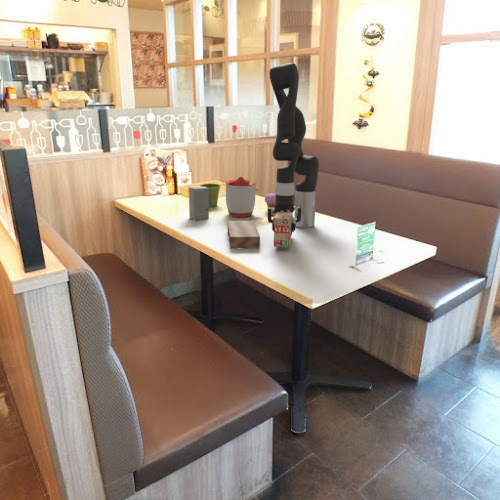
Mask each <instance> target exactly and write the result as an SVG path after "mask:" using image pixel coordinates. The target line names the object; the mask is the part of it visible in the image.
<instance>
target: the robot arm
mask: <svg viewBox="0 0 500 500" xmlns="http://www.w3.org/2000/svg"><path fill="white" fill-rule="evenodd" d="M298 69H299V68H298V67H297V65H296V64H295V63H294V62H290V63H289V62H288V63H283V64H279V65H276V66H272V67H271V68H270V69H269V72H268V73H269V80H270V84H271V87H272V90H273V93H274V95H275V99H276V102H277V105H278V108H279V111H278V112H277V113H278V114H277V119H276V138H275V143H274V145H273V149H272V156H273V159H274V160H275V161H277V162H279V161H281V162H288V164H286V165H282V166H280V167H279V166H278V167H277V169H276V182H275V183H276V184H275V194H276V198H275V207H274V208H270V207H268V206H267V221H268V223H269V224H272V225H271V230H272V231H273V232H274V217H275V215H274V217H273V218H272V214H273V213H275V214H276V213H277V212H280V213H283V212H292V213H293V216H292V214H291V220H292V226H291V231H292V233H295V231H296V230H297V229H296V228H301V229H308V228H314V227H315V220H316V206H315V202H316V190H317V189H316V187H317V184H318V178H319V170H320V164H319V163H320V162H319V159H318V157H316V156H314V155H306V154H304V152H303V148H302V143H303V141H304V138H305V136H306V132H307V126H306V121H305V117H304V114H303V112H302V110H301V109H300V108H299V107H298V106H297V100H298V92H299V81H300V78H299V77H300V74H299V70H298ZM285 89H286V90H287V89H288V92H287V94H286V92H285ZM285 140H287V142H283V141H285ZM295 175H300V176H305V178H304V180H303V181H301V182H297V183H296V184H295ZM274 210H275V212H273V211H274Z"/></svg>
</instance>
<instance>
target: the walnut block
mask: <svg viewBox="0 0 500 500" xmlns="http://www.w3.org/2000/svg"><path fill="white" fill-rule="evenodd" d="M226 224H227V225H226V226H227V227H226V228H227V230H226V231H228V232H227V236H228V237H229V238H228V242H229V243H228V244H229V248H230V249H231V250H233V249H234V250H237V249H238V248H244V249H260V247H261V246H260V245H261V236H260V234H259V230H258V228H257V225H256V223H255V220H227V223H226ZM238 250H239V249H238Z"/></svg>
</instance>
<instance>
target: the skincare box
mask: <svg viewBox="0 0 500 500" xmlns="http://www.w3.org/2000/svg"><path fill="white" fill-rule="evenodd" d="M188 205H189V206H188V208H189V214H188V215H189V218H190V219H191V220H193V221H201V220H206V219H207V220H208V219H210V209H209V188H207V187H204V186H200V185H199V186H189V187H188Z"/></svg>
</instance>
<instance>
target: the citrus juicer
mask: <svg viewBox="0 0 500 500" xmlns="http://www.w3.org/2000/svg"><path fill="white" fill-rule="evenodd" d="M256 192H258V188H257V182H253V183H252V184H250V180H249V179H245V178H244V177H242V176H239V177H238V178H237V179H231V180H227V181H225V204H226V208H227V212H228V214H229V216H232V217H235V218H245V217H250V215H251V216H252V214H253V212H254V209H255V205H256Z"/></svg>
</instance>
